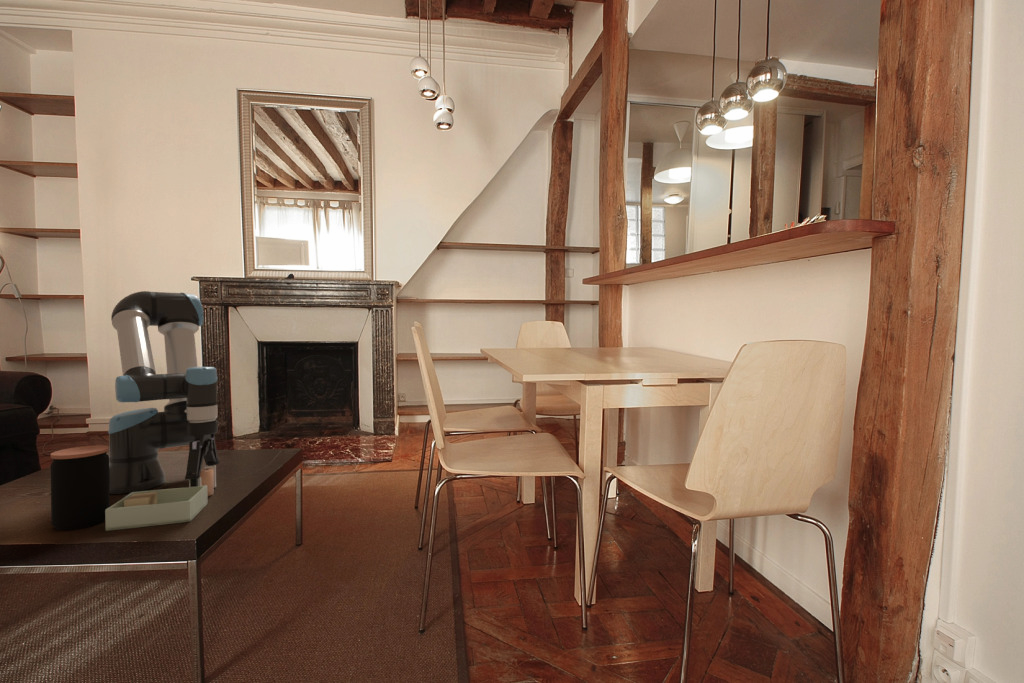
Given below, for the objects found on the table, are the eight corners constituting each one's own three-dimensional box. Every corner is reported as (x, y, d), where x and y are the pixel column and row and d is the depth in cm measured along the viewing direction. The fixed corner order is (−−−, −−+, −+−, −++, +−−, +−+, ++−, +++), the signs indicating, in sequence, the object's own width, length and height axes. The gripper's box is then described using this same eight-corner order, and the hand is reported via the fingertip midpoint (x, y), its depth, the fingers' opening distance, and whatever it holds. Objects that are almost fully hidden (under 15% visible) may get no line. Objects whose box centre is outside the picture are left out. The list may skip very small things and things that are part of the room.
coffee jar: (105, 511, 122) (104, 443, 122) (114, 521, 116) (113, 449, 115) (48, 524, 114) (47, 451, 114) (54, 535, 107) (53, 457, 107)
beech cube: (134, 513, 119) (133, 494, 119) (157, 511, 120) (156, 492, 120) (124, 521, 114) (123, 500, 114) (148, 518, 115) (148, 498, 115)
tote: (132, 511, 122) (132, 492, 122) (207, 503, 127) (207, 485, 127) (105, 530, 110) (105, 509, 110) (190, 521, 115) (190, 501, 115)
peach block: (196, 493, 136) (196, 469, 136) (215, 491, 138) (215, 467, 138) (190, 498, 132) (189, 474, 132) (210, 496, 133) (210, 472, 133)
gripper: (201, 414, 145) (202, 483, 145) (170, 428, 122) (171, 510, 122) (229, 413, 147) (230, 480, 148) (203, 426, 124) (204, 507, 124)
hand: (203, 494), depth 135 cm, fingers open, 12 cm apart
